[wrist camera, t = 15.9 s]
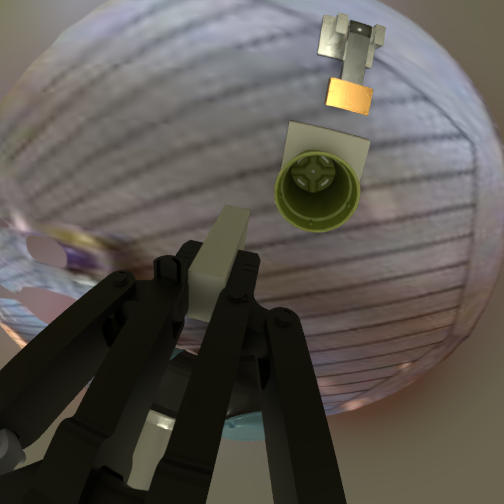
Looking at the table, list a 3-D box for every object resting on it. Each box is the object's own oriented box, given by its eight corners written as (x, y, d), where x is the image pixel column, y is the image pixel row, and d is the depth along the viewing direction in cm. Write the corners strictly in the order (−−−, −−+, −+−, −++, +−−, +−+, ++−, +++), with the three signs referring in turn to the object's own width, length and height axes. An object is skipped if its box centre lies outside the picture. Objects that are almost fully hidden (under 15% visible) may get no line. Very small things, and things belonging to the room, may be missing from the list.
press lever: (362, 113, 25) (367, 115, 23) (324, 103, 26) (326, 104, 24) (377, 31, 19) (383, 27, 17) (338, 19, 20) (341, 14, 18)
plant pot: (361, 171, 34) (377, 194, 27) (314, 214, 39) (317, 247, 32) (311, 123, 32) (315, 133, 25) (264, 172, 37) (256, 196, 30)
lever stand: (368, 68, 27) (389, 63, 20) (316, 54, 28) (323, 44, 20) (374, 31, 24) (396, 17, 17) (323, 17, 24) (330, -3, 17)
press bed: (346, 214, 40) (347, 219, 39) (275, 199, 40) (274, 203, 39) (368, 139, 33) (370, 141, 32) (289, 120, 33) (289, 121, 32)
